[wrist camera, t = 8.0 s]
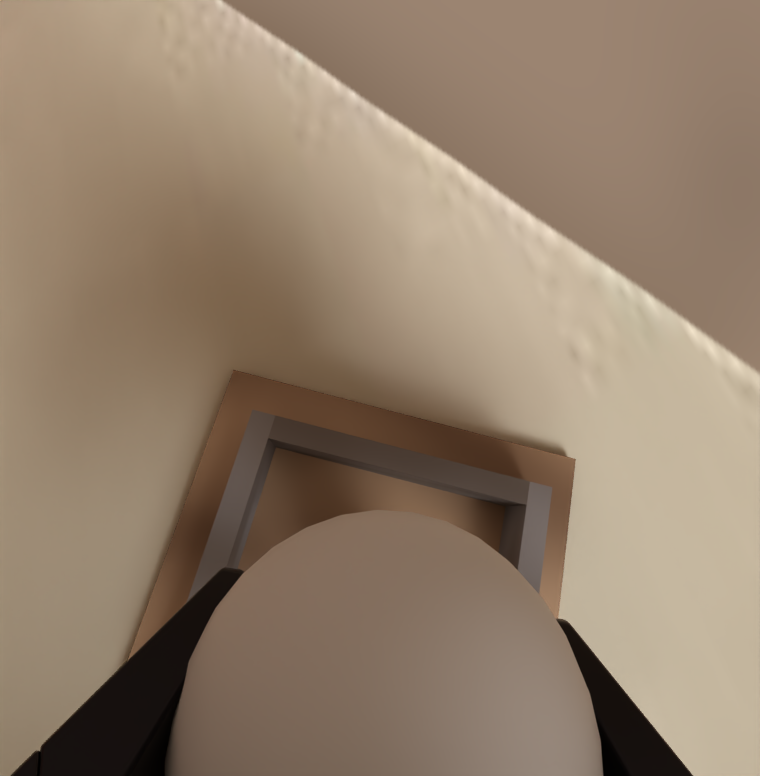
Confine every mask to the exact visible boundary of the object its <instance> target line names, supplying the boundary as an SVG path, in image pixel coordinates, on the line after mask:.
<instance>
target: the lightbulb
mask: <svg viewBox="0 0 760 776" xmlns="http://www.w3.org/2000/svg"><path fill="white" fill-rule="evenodd" d="M165 776H603V765H602V751H601V740H600V735H599V731H598V727H597V722H596V718H595V714H594V709H593V705H592V701H591V696H590V693H589V690H588V688H587V686H586V683H585V681H584V678H583V676H582V673H581V671H580V668H579V666H578V663H577V661H576V658H575V656H574V654H573V651H572V649H571V646H570V644H569V642H568V639H567V637H566V635H565V633H564V632H563V630H562V628H561V627H560V625H559V623H558V622H557V620H556V619H555V617H554V615H553V614H552V612H551V611H550V609H549V607H548V606H547V604H546V602H545V601H544V599H543V598H542V597H541V596H540V595H539V594H538V593H537V591H536V590H535V589H534V588H533V587H532V586H531V585H530V584H529V582H528V581H527V580H526V579H525V578H524V577H523V576H522V575H521V573H520V572H519V571H518V570H517V569H516V568H515V567H514V566H513V565H512V564H511V563H510V562H509V561H508V560H507V559H506V558H504V557H503V556H502V555H501V554H499V553H498V552H497V551H495V550H494V549H493V548H491V547H490V546H489V545H488V544H486V543H485V542H484V541H482V540H481V539H480V538H478V537H476V536H474V535H472V534H471V533H469V532H467V531H465V530H463V529H461V528H459V527H457V526H455V525H453V524H451V523H449V522H447V521H443V520H439V519H436V518H432V517H428V516H425V515H421V514H417V513H414V512H403V511H387V510H372V511H365V512H358V513H351V514H344V515H340V516H337V517H334V518H331V519H328V520H326V521H323V522H320V523H317V524H314V525H312V526H309V527H306V528H304V529H303V530H301V531H299V532H298V533H296V534H294V535H293V536H291V537H289V538H288V539H286V540H284V541H282V542H281V543H279V544H277V545H276V546H274V547H273V548H271V549H270V550H269V551H268V552H267V553H266V554H265V555H263V556H262V557H261V558H260V559H259V560H258V561H257V562H256V563H254V564H253V565H252V566H251V567H250V568H249V569H248V570H246V571H245V572H244V573H243V574H242V575H241V577H240V578H239V579H238V580H237V582H236V583H235V584H234V585H233V587H232V588H231V589H230V590H229V592H228V593H227V594H226V595H225V597H224V598H223V599H222V600H221V602H220V603H219V604H218V606H217V607H216V608H215V610H214V612H213V614H212V616H211V617H210V619H209V621H208V623H207V625H206V627H205V629H204V631H203V633H202V635H201V637H200V639H199V641H198V643H197V646H196V648H195V650H194V652H193V654H192V656H191V658H190V660H189V663H188V668H187V673H186V677H185V682H184V686H183V689H182V693H181V696H180V699H179V702H178V705H177V708H176V710H175V713H174V716H173V720H172V726H171V731H170V736H169V741H168V746H167V751H166V756H165Z"/></svg>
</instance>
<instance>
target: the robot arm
mask: <svg viewBox="0 0 760 776" xmlns="http://www.w3.org/2000/svg"><path fill="white" fill-rule="evenodd" d="M243 573H244V571H243V570H241V569H235V568H229V567H224V568H222V569H220V570H219V571H218V572H217V573H216V574H215V575H214V576H213V577H212V578H211V579H210V580H209V581H208V582H207V583H206V584H205V585H204V586H203V587H202V588H201V589H200V590H199V591H198V592H197V593H196V594H195V595H194V596H193V597H191V598H190V599H189V600H188V601H187V602H186V603H185V604H184V605H183V606H182V607H181V608H180V609H179V610H178V611H177V612H176V613H175V614H174V615H173V616H172V617H171V618H170V619H169V620H168V621H167V622H166V623H165V624H164V625H163V626H162V627H161V628H160V629H159V630H158V631H157V632H156V633H155V634H154V635H153V636H152V637H151V638H150V639H149V640H148V641H147V642H146V643H145V644H144V645H143V646H142V647H141V648H140V649H139V650H138V651H137V652H136V653H135V654H134V655H133V656H132V657H131V658H130V659H129V660H128V661H127V662H126V663H124V664H123V665H122V666H121V667H120V668H119V669H118V670H117V671H116V672H115V673H114V674H113V675H112V676H111V677H110V678H109V679H108V680H107V681H106V682H105V683H104V684H103V685H102V686H101V687H100V688H99V689H98V690H97V691H96V692H95V693H94V694H93V695H92V696H91V697H90V698H89V699H88V700H87V701H86V702H85V703H84V704H83V705H82V706H81V707H80V708H79V709H78V710H77V711H76V712H75V713H74V714H73V715H72V716H71V717H70V718H69V719H68V720H67V721H66V722H65V723H64V724H63V725H62V726H61V727H60V728H59V729H57V730H56V731H55V732H54V733H53V734H52V735H51V736H50V737H49V738H48V739H47V740H46V741H45V742H44V743H43V744H42V746H41V749H40V751H35V752H34V753H33V754H32V755H31V756H30V757H29V758H28V759H27V760H26V761H25V762H24V763H23V764H22V765H21V766H20V767H19V768H18V769H17V770H16V771H15V772H14V773H13V774H12V775H11V776H165V756H166V751H167V746H168V741H169V736H170V731H171V726H172V720H173V716H174V713H175V710H176V708H177V705H178V702H179V699H180V696H181V693H182V689H183V686H184V682H185V677H186V673H187V668H188V663H189V660H190V658H191V656H192V654H193V652H194V650H195V648H196V646H197V643H198V641H199V639H200V637H201V635H202V633H203V631H204V629H205V627H206V625H207V623H208V621H209V619H210V617H211V616H212V614H213V612H214V610H215V608H216V607H217V606H218V604H219V603H220V602H221V600H222V599H223V598H224V597H225V595H226V594H227V593H228V592H229V590H230V589H231V588H232V587H233V585H234V584H235V583H236V582H237V580H238V579H239V578H240V577H241V575H242V574H243ZM555 619H556V620H557V622H558V623H559V625H560V627H561V628H562V630H563V632H564V633H565V635H566V637H567V639H568V642H569V644H570V646H571V649H572V651H573V654H574V656H575V658H576V661H577V663H578V666H579V668H580V671H581V673H582V676H583V678H584V681H585V683H586V686H587V688H588V690H589V693H590V696H591V701H592V705H593V709H594V714H595V718H596V722H597V727H598V731H599V735H600V740H601V751H602V765H603V776H693V775H692V774H691V772H690V771H689V770H688V769H687V768H686V766H685V765H684V764H683V763H682V761H681V760H680V759H679V758H678V756H677V755H676V754H675V753H674V752H673V750H672V749H671V748H670V747H669V745H668V744H667V743H666V742H665V740H664V739H663V738H662V737H661V735H660V734H659V733H658V732H657V731H656V729H655V728H654V727H653V726H652V724H651V723H650V722H649V721H648V719H647V718H646V717H645V716H644V714H643V713H642V712H641V711H640V710H639V708H638V707H637V706H636V705H635V703H634V702H633V701H632V700H631V698H630V697H629V696H628V695H627V694H626V692H625V691H624V690H623V689H622V687H621V686H620V685H619V684H618V682H617V681H616V680H615V679H614V677H613V676H612V675H611V674H610V673H609V671H608V670H607V669H606V668H605V666H604V665H603V664H602V663H601V661H600V660H599V659H598V658H597V656H596V655H595V654H594V653H593V652H592V650H591V649H590V648H589V647H588V645H587V644H586V643H585V642H584V640H583V639H582V638H581V637H580V636H579V634H578V633H577V632H576V631H575V629H574V628H573V627H572V626H571V625H570V623H568V622H567V621H566V620H563V619H557V618H555Z"/></svg>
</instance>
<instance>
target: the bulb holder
mask: <svg viewBox="0 0 760 776" xmlns="http://www.w3.org/2000/svg"><path fill="white" fill-rule="evenodd" d="M575 460H576V459H573V458H569V457H565V456H561V455H558V454H554V453H550V452H546V451H542V450H538V449H535V448H531V447H527V446H523V445H519V444H515V443H512V442H508V441H504V440H500V439H496V438H492V437H489V436H485V435H481V434H477V433H473V432H469V431H466V430H462V429H458V428H454V427H450V426H446V425H443V424H439V423H435V422H431V421H427V420H423V419H420V418H416V417H412V416H408V415H404V414H400V413H397V412H393V411H389V410H385V409H381V408H377V407H374V406H370V405H366V404H362V403H358V402H354V401H351V400H347V399H343V398H339V397H335V396H331V395H328V394H324V393H320V392H316V391H312V390H308V389H305V388H301V387H297V386H293V385H289V384H285V383H282V382H278V381H274V380H270V379H266V378H262V377H259V376H255V375H251V374H247V373H243V372H239V371H236V370H233V373H232V376H231V378H230V381H229V384H228V387H227V389H226V392H225V395H224V398H223V400H222V403H221V406H220V409H219V411H218V414H217V417H216V419H215V422H214V425H213V428H212V430H211V433H210V436H209V439H208V441H207V444H206V447H205V450H204V452H203V455H202V458H201V461H200V463H199V466H198V469H197V471H196V474H195V477H194V480H193V482H192V485H191V488H190V491H189V493H188V496H187V499H186V502H185V504H184V507H183V510H182V512H181V515H180V518H179V521H178V523H177V526H176V529H175V532H174V534H173V537H172V540H171V543H170V545H169V548H168V551H167V553H166V556H165V559H164V562H163V564H162V567H161V570H160V573H159V575H158V578H157V581H156V584H155V586H154V589H153V592H152V594H151V597H150V600H149V603H148V605H147V608H146V611H145V614H144V616H143V619H142V622H141V625H140V627H139V630H138V633H137V635H136V638H135V641H134V644H133V646H132V649H131V652H130V655H129V657H128V660H129V659H130V658H131V657H132V656H133V655H134V654H135V653H136V652H137V651H138V650H139V649H140V648H141V647H142V646H143V645H144V644H145V643H146V642H147V641H148V640H149V639H150V638H151V637H152V636H153V635H154V634H155V633H156V632H157V631H158V630H159V629H160V628H161V627H162V626H163V625H164V624H165V623H166V622H167V621H168V620H169V619H170V618H171V617H172V616H173V615H174V614H175V613H176V612H177V611H178V610H179V609H180V608H181V607H182V606H183V605H184V604H185V603H186V602H187V601H188V600H189V599H190V598H191V597H193V596H194V595H195V594H196V593H197V592H198V591H199V590H200V589H201V588H202V587H203V586H204V585H205V584H206V583H207V582H208V581H209V580H210V579H211V578H212V577H213V576H214V575H215V574H216V573H217V572H218V571H219V570H220V569H222V568H224V567H229V568H235V569H241V570H243V571H244V572H245V571H246V570H248V569H249V568H250V567H251V566H252V565H253V564H254V563H256V562H257V561H258V560H259V559H260V558H261V557H262V556H263V555H265V554H266V553H267V552H268V551H269V550H270V549H271V548H273V547H274V546H276V545H277V544H279V543H281V542H282V541H284V540H286V539H288V538H289V537H291V536H293V535H294V534H296V533H298V532H299V531H301V530H303V529H304V528H306V527H309V526H312V525H314V524H317V523H320V522H323V521H326V520H328V519H331V518H334V517H337V516H340V515H344V514H351V513H358V512H365V511H372V510H387V511H403V512H414V513H417V514H421V515H425V516H428V517H432V518H436V519H439V520H443V521H447V522H449V523H451V524H453V525H455V526H457V527H459V528H461V529H463V530H465V531H467V532H469V533H471V534H472V535H474V536H476V537H478V538H480V539H481V540H482V541H484V542H485V543H486V544H488V545H489V546H490V547H491V548H493V549H494V550H495V551H497V552H498V553H499V554H501V555H502V556H503V557H504V558H506V559H507V560H508V561H509V562H510V563H511V564H512V565H513V566H514V567H515V568H516V569H517V570H518V571H519V572H520V573H521V575H522V576H523V577H524V578H525V579H526V580H527V581H528V582H529V584H530V585H531V586H532V587H533V588H534V589H535V590H536V591H537V593H538V594H539V595H540V596H541V597H542V598H543V599H544V601H545V602H546V604H547V606H548V607H549V609H550V611H551V612H552V614H553V615H554V617H555V618H557V619H558V614H559V605H560V596H561V587H562V578H563V569H564V560H565V551H566V541H567V532H568V523H569V514H570V505H571V496H572V487H573V478H574V469H575ZM128 660H127V661H128Z"/></svg>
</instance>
